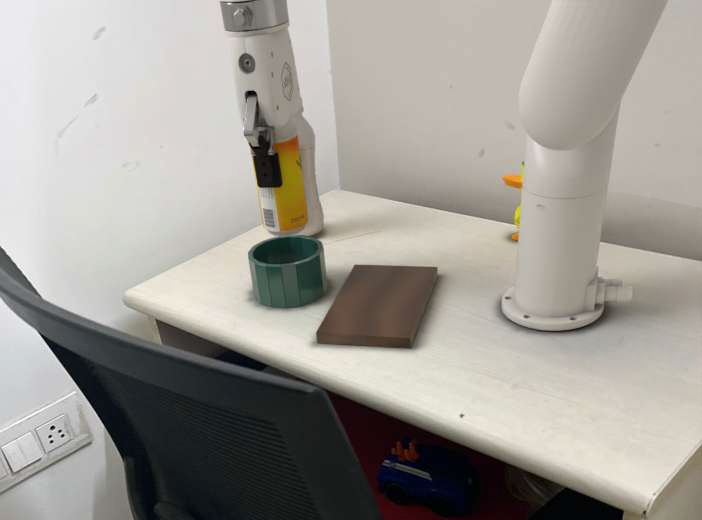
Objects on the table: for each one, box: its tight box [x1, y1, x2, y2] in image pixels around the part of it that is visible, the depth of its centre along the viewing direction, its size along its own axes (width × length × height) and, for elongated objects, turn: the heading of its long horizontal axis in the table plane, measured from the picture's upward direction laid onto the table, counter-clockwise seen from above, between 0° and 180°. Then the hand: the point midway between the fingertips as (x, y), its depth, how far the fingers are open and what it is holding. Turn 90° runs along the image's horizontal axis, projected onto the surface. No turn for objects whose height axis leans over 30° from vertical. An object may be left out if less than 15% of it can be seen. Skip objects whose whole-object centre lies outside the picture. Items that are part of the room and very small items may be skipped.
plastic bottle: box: [294, 96, 325, 237], centre depth 118 cm, size 6×7×20 cm
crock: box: [247, 235, 329, 309], centre depth 108 cm, size 10×10×6 cm
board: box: [315, 264, 439, 349], centre depth 103 cm, size 12×20×2 cm, turn 164°
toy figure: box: [501, 160, 524, 241], centre depth 112 cm, size 7×4×12 cm, turn 46°
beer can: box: [249, 113, 308, 237], centre depth 99 cm, size 6×6×15 cm
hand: (278, 176), depth 99 cm, fingers closed on beer can, 6 cm apart
